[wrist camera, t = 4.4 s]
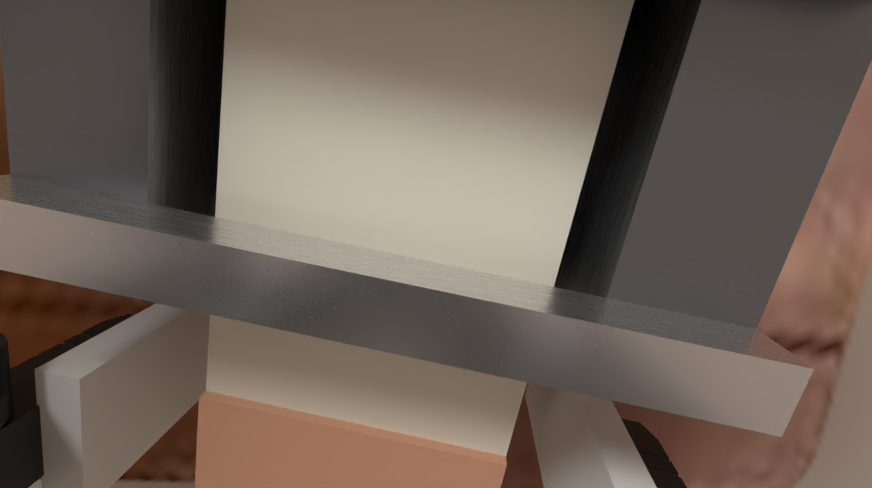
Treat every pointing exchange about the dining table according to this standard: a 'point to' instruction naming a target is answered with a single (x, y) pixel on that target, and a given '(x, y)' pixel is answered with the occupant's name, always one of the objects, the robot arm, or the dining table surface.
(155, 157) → the dispenser
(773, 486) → the dining table surface
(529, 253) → the ticket
